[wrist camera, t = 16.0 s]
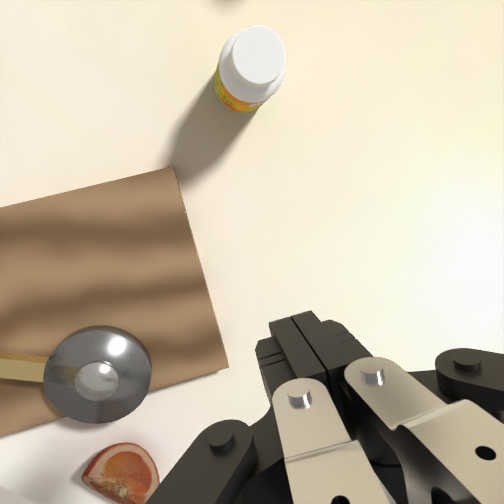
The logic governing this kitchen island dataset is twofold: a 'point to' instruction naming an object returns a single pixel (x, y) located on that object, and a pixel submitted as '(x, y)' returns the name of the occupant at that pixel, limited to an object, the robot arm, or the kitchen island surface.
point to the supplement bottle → (249, 69)
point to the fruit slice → (123, 474)
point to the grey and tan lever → (88, 373)
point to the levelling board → (103, 283)
